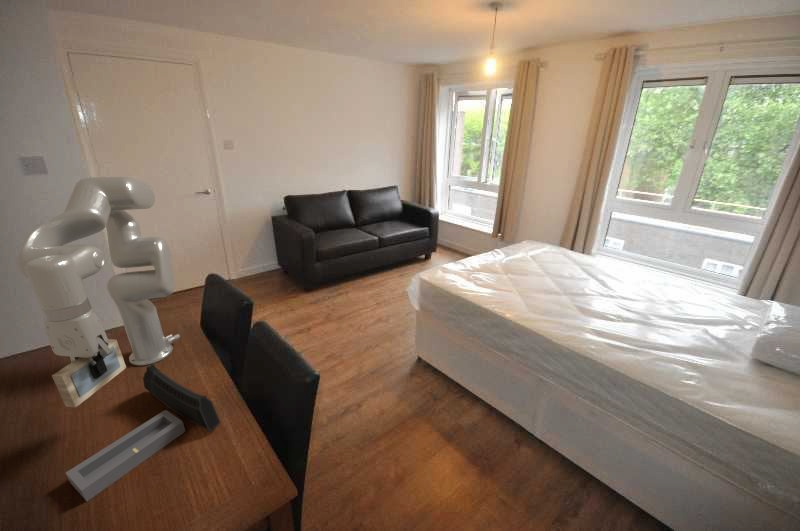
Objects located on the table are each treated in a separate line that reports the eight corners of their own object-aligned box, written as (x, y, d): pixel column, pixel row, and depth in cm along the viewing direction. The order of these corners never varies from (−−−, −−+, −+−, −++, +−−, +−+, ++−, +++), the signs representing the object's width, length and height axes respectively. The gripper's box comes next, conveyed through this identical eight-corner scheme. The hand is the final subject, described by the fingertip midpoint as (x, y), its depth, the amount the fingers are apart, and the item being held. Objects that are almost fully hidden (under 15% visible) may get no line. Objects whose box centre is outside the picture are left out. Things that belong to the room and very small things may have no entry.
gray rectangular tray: (168, 419, 92) (165, 409, 91) (185, 431, 89) (182, 421, 87) (70, 483, 75) (65, 472, 74) (86, 501, 71) (81, 490, 70)
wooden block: (117, 367, 90) (107, 339, 86) (127, 367, 89) (117, 339, 86) (66, 406, 77) (51, 375, 73) (76, 407, 76) (62, 376, 73)
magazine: (221, 404, 86) (150, 344, 95) (209, 412, 83) (138, 350, 92) (220, 442, 94) (155, 383, 103) (209, 451, 92) (143, 390, 101)
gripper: (15, 315, 72) (47, 382, 79) (86, 320, 71) (112, 387, 78) (51, 299, 79) (78, 362, 86) (116, 303, 78) (137, 366, 85)
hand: (94, 373), depth 82 cm, fingers closed on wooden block, 2 cm apart
